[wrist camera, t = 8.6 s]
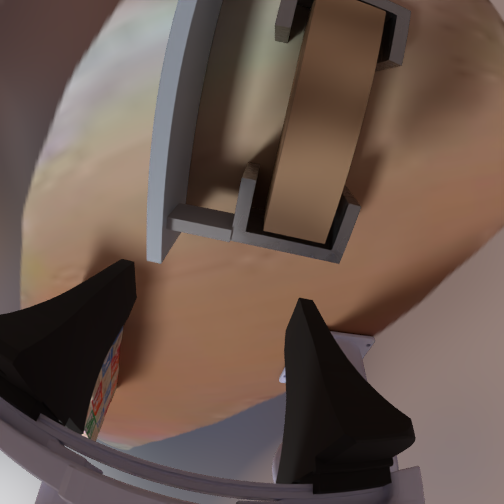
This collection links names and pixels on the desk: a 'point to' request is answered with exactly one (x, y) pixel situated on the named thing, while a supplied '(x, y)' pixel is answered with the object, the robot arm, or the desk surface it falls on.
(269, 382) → the desk surface
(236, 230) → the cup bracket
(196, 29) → the backboard
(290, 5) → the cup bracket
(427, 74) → the desk surface
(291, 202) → the rail
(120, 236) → the desk surface
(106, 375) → the stack of blocks
